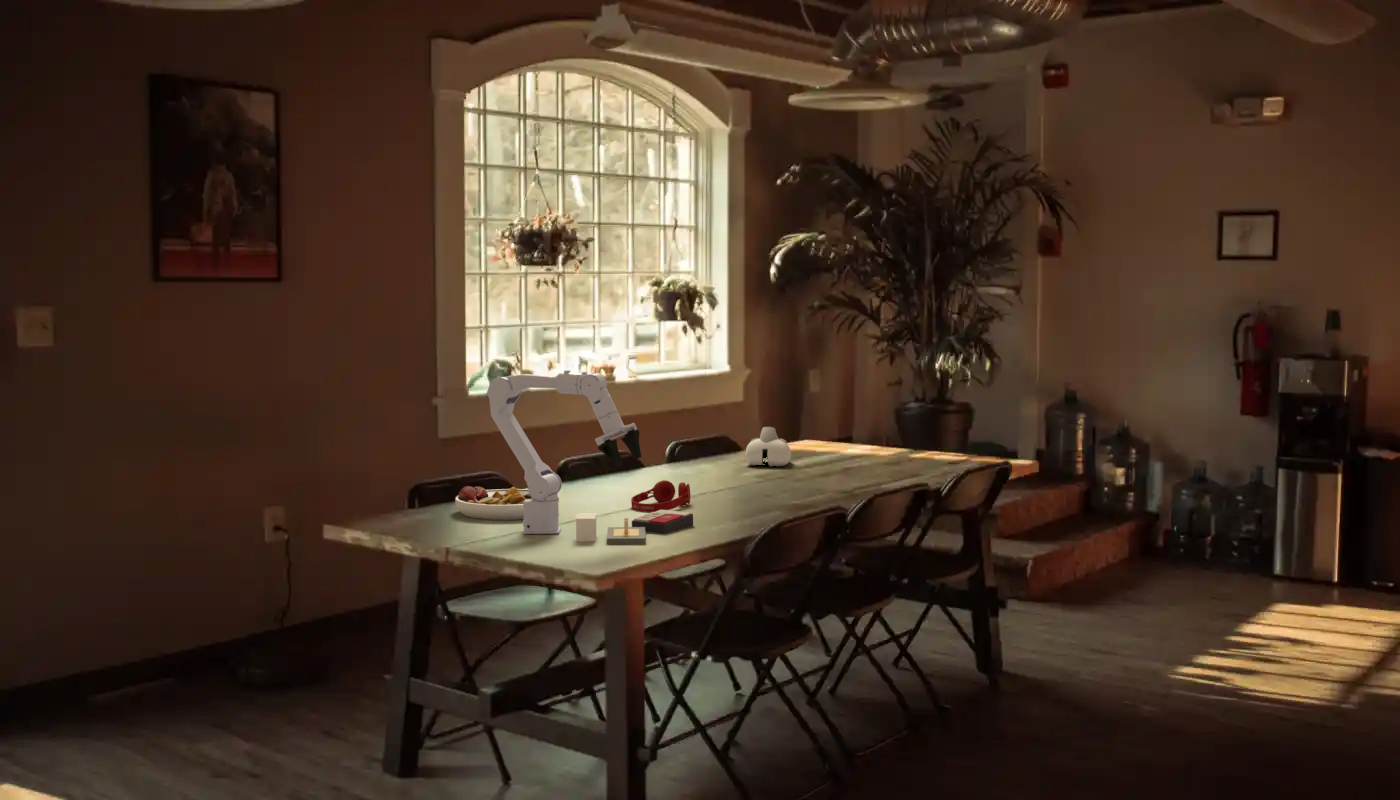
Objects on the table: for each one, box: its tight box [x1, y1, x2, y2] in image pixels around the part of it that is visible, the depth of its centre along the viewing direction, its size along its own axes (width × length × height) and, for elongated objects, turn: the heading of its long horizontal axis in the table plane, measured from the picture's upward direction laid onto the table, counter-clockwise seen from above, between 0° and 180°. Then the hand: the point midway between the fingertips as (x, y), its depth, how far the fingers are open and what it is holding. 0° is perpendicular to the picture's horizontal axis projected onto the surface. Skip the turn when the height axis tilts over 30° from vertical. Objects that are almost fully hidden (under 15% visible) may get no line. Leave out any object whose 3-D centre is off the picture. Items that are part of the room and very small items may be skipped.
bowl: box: [454, 485, 560, 521], centre depth 399 cm, size 30×30×8 cm
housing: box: [575, 512, 597, 542], centre depth 359 cm, size 5×8×6 cm, turn 3°
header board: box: [606, 517, 646, 545], centre depth 360 cm, size 10×16×5 cm, turn 3°
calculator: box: [631, 510, 694, 535], centre depth 375 cm, size 11×4×15 cm
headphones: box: [630, 479, 691, 513], centre depth 410 cm, size 15×7×20 cm
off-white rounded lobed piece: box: [744, 426, 792, 467], centre depth 504 cm, size 22×23×15 cm
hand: (629, 462), depth 360 cm, fingers open, 7 cm apart
